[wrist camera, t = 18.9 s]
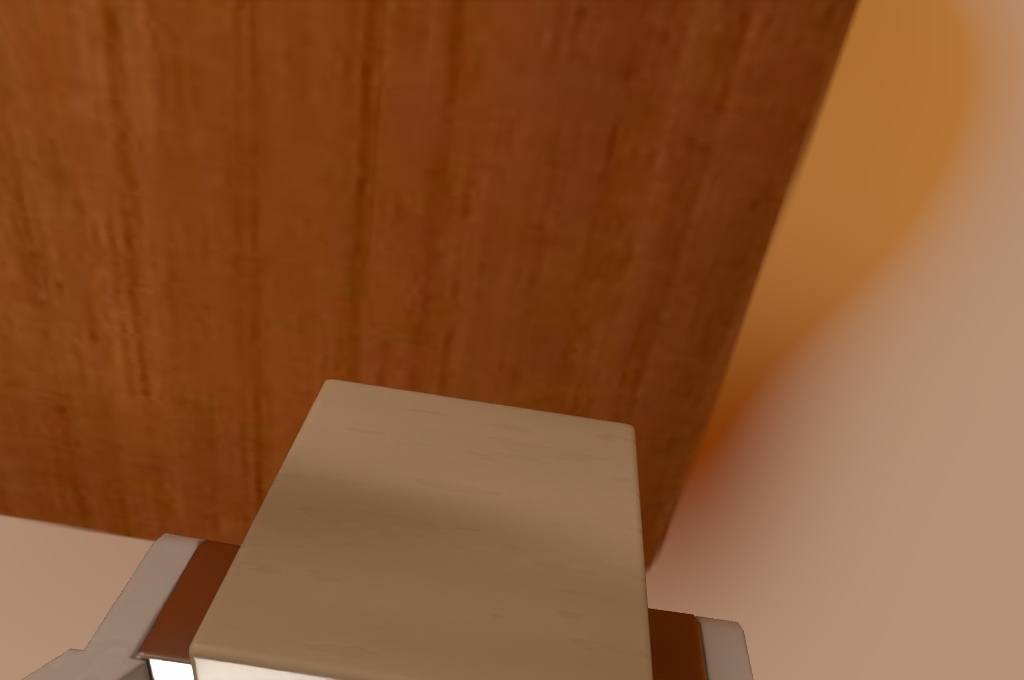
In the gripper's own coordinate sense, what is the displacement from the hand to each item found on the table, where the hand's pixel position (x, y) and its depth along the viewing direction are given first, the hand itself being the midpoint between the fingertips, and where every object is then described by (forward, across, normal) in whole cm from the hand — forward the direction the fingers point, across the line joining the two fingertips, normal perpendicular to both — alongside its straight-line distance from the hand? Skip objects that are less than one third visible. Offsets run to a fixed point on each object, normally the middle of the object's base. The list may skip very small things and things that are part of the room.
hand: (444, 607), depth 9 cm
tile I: (+2, 0, 0) cm, 2 cm away
